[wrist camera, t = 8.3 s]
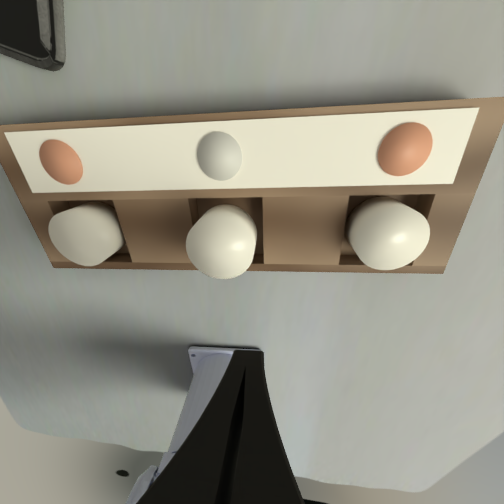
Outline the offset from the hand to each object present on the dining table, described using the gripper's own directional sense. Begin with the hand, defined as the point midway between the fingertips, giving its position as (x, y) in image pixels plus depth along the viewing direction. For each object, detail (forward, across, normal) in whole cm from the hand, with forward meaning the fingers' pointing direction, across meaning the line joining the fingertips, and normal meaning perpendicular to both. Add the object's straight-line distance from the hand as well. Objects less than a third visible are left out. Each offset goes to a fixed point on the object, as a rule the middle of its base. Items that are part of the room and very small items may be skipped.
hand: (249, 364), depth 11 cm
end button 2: (+8, -8, -4) cm, 12 cm away
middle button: (+7, +2, -4) cm, 8 cm away
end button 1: (+8, +12, -4) cm, 15 cm away
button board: (+9, +2, -6) cm, 11 cm away
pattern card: (+7, +2, -9) cm, 11 cm away
